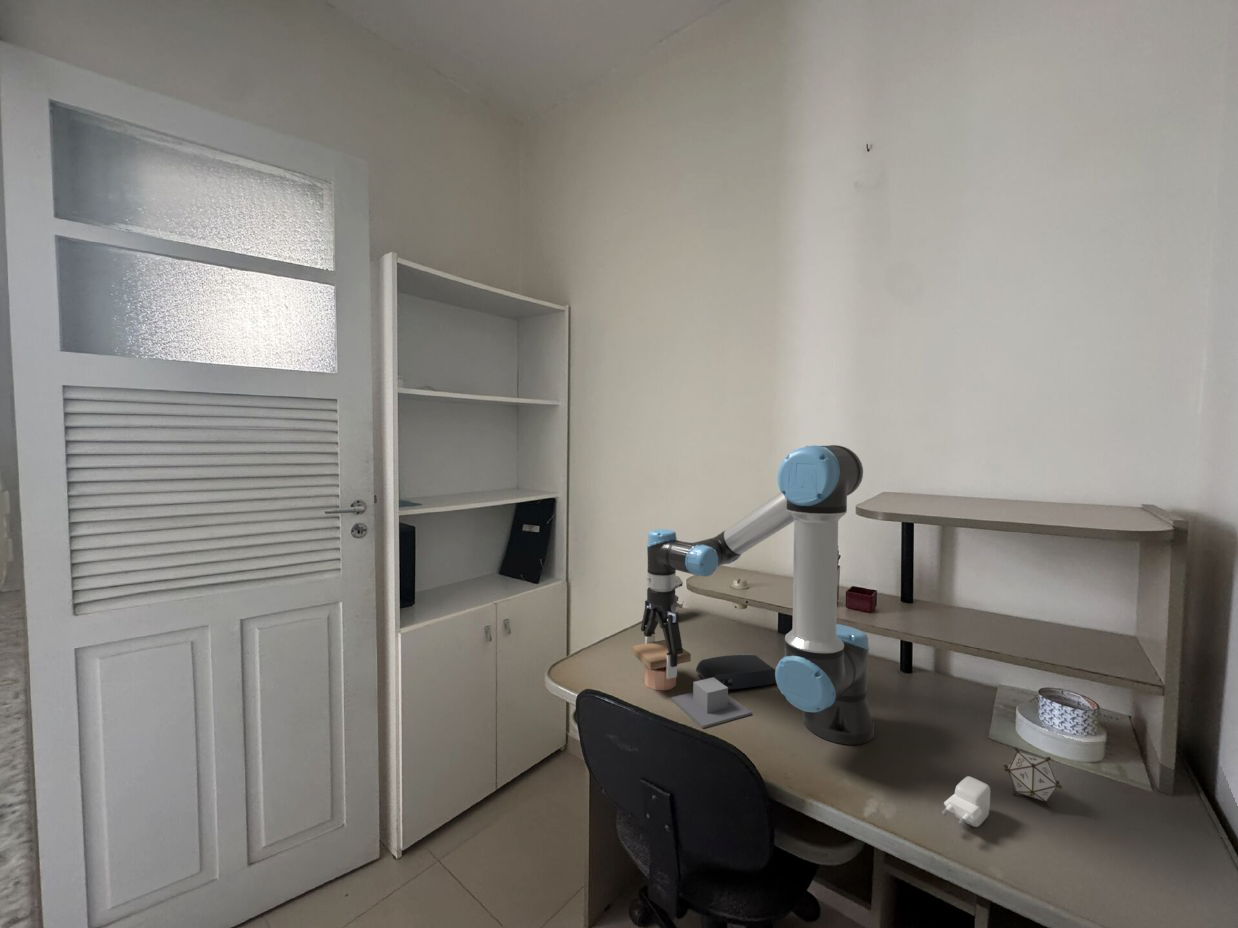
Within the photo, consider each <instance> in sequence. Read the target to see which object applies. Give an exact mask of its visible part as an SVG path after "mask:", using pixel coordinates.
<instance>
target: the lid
mask: <svg viewBox="0 0 1238 928" xmlns="http://www.w3.org/2000/svg"><path fill="white" fill-rule="evenodd" d="M682 649H683V653H682V654H678V655H677V665H680V664H684V663H690V662H691V661H692V659H691V658H692V657H691V655H692V654H691V653H690V652H688V651H687V650H686V649H685V648H683V647H682ZM630 651H631V654H632V656H634V657H635V658H636V659H637V660H638V661H640V662H641V663H642V664H643V665H644V666H645V665H646V666H647V667H648V668H649V669H650V670H653V669H657V668H662V667H667V654H666V653H668V648H667V644H666V641H665V639H662V640H661V639H660V640H655V642H650V643H645V642H644V643H641V644H635V645H631V650H630Z"/></svg>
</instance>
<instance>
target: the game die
mask: <svg viewBox="0 0 1238 928" xmlns="http://www.w3.org/2000/svg"><path fill="white" fill-rule="evenodd" d="M1014 750H1015V754H1014V756H1013V757H1012V759H1011V761H1010V762H1009V764H1008V765H1007V764H1004V765H1002V766H1003V767H1004V768H1003V770H1004V771H1005V772H1008V774H1009V777H1010V779H1011V783H1012V786H1013V787H1014V791H1012V796H1016V795H1017V794H1019V795H1020V794H1021V795H1023V796H1026V797H1030V798H1032V799H1036V800H1038V801H1042V802H1045V805H1046V806H1047V807H1048V808H1050V806H1051V804H1050V802H1048V801H1049V800H1050V799H1051V796H1052V795H1053V794H1054V792H1055V791H1056V790H1057V788H1058V789H1063V788H1064V787H1063V785H1061V782H1060V781H1059V780H1057V779H1056V777H1055V775H1054V773H1053V769H1052V768H1051V765H1050V762H1049V761H1051V760H1052V759H1051V758H1052V757H1051V756H1047V757H1046V758H1042V757H1038V756H1035V755H1032V754H1028V753H1026V752H1022V751H1019V749H1018V747H1016V746H1014Z"/></svg>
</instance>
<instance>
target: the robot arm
mask: <svg viewBox="0 0 1238 928" xmlns="http://www.w3.org/2000/svg"><path fill="white" fill-rule="evenodd" d="M778 467H779V468H778V471H777V478H776V480H777V485H778V489H779V491H780V492H779V493H777V494H776V495H774V496H773V497H771V498H770V499H768V500H767V501H766V502H764V503H762V504H761V505H759V506H758V507H756V508H755V509H754V510H752V511H751V512H749V513H747V515H745V516H744V517H742V518H741V519H739V520H738V521H736V522H735V523H733V524H732V525H729V527H727V528H726V529H725V530H724V531H721V532H720V533H719V534H717V535H716V536H713V537H711V538H707V539H704V540H699V541H695V542H687V541H681V540H678V539H677V533H676V532H675V530H672V529H669V528H667V529H664V528H658V529H657V528H656V529H653V530H650V531H649V532H648V535H647V545H646V549H647V571H646V572H647V577H646V580H647V583H646V584H647V585H646V586H647V587H648V588H647V589H646V591H647V592H646V600H645V601H644V612H643V615H642V621H641V626H640V630H641V632H643V635H644V636H645V637H644V639H645V642H644V644H645V643H650V642H655V641H656V636H655V635H656V629H657V627H658V624H659V628H660V629H662V632H663V636H664V640H665V641H666V644H667V648H668V653H666V654H667V668H666V678H667V679H670V678H674V677H676V678H677V677H678V664H677V655H678V654H682V653H683V649H684V648H683V643H682V636H681V632H680V626H679V625H680V624H679V614H678V613H676V614H673V613H672V611H671V606H672V604H674V603H675V595H676V589H674V588H675V587H676V576H677V573H676V571H679V572H682V573H687V574H690V575H693V576H697V577H710V576H712V575H713V574H714V572H716V570H717V568H718V567H720V566H723V565H729V564H732V563H733V562H735V561H737V560H738V559H740V557H741V555H743V554H744V553H746V552H748V551H749V550H750V549H752V548H753V547H756V546H757V545H759V544H760V543H761V542H764V541H765V540H767V539H768V538H769V537H771V536H773V535H774V534H776V533H778V532H780V531H781V530H782V529H785V528H787V526H789V525H791V524H792V523H793V571H792V572H793V574H792V575H793V577H792V578H793V579H792V584H793V585H792V628H791V630H790V631H789V632H788V633H786V634H785V637H784V657H782V658H781V659H780V660H779V661H778V663H777V665H776V667H775V670H776V671H775V678H776V683H775V684H776V685H777V688H778V689H779V691H780V693H781V694H782V695H783V696H784V697H785V699H786V700H787V702H788V703H789V704H791V705H792V706H794V707H795V708H796V709H799V710H801V711H802V722H803V724H804V725H805V727H806V728H807V729H808V731H810V732H811V733H813V734H814V735H816V736H818V737H820V738H822V739H824V740H826V741H830V742H832V743H837V744H841V745H842V744H843V745H850V746H851V745H852V746H853V745H863V744H865V743H868V742H870V741H872V740H873V738H874V735H875V722H874V719H873V717H872V715H871V711H870V710H871V709H870V706H869V702H868V699H867V694H868V693H867V692H868V672H869V671H868V668H869V651H870V647H869V637H868V635H867V634H866V633H865V632H863V631H862V630H861V629H858V628H855V627H852V626H848V625H844V624H841V623H840V624H839V623H837V619H838V618H837V614H838V608H837V606H838V603H837V602H838V563H839V562H838V560H839V557H838V552H839V551H838V550H839V549H838V548H839V521H840V519H841V518H842V517H844V516H845V515H846V514H847V513H848V512H847V511H848V509H847V508H848V502H847V501H848V496H849V495H851V494H853V493H854V492H855V491H856V490H857V489H859V487H860V485H861V483H862V480H863V479H864V467H863V464H862V461H861V459H860V458H859V456H858V455H857V454H856V453H855V452H854V451H853V450H851V449H850V448H848V447H846V446H842V445H836V444H833V445H832V444H831V445H816V444H813V445H806V446H803V447H799V448H797V449H794V450H792V451H791V452H789V453H788V454H787V455H786V456H785V457H784V458H783V459H782V461H781V462H780V465H779V466H778ZM682 648H683V649H682Z"/></svg>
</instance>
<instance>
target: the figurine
mask: <svg viewBox="0 0 1238 928" xmlns="http://www.w3.org/2000/svg"><path fill="white" fill-rule="evenodd" d="M680 587H683V580H682V579H681V578H680V576H678V575H676V587H675V588H674V589H675V590H676V589H677V588H680ZM679 598H680V597H679V596H678V595H676V594H675V603H674V604H672V606H671V611H672V613H673V614H677V613H676V609H677V608H680V609H681V608H683V605H684V604H683V603H684V601H682V603H679Z"/></svg>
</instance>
